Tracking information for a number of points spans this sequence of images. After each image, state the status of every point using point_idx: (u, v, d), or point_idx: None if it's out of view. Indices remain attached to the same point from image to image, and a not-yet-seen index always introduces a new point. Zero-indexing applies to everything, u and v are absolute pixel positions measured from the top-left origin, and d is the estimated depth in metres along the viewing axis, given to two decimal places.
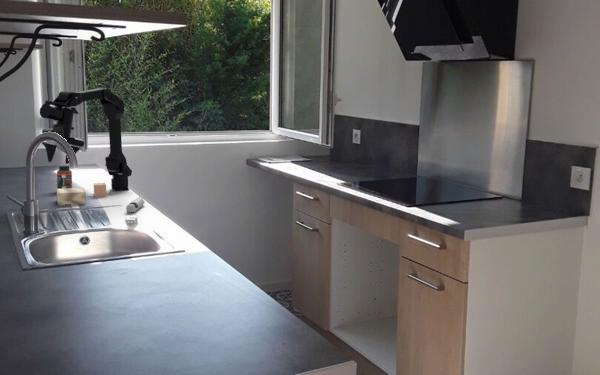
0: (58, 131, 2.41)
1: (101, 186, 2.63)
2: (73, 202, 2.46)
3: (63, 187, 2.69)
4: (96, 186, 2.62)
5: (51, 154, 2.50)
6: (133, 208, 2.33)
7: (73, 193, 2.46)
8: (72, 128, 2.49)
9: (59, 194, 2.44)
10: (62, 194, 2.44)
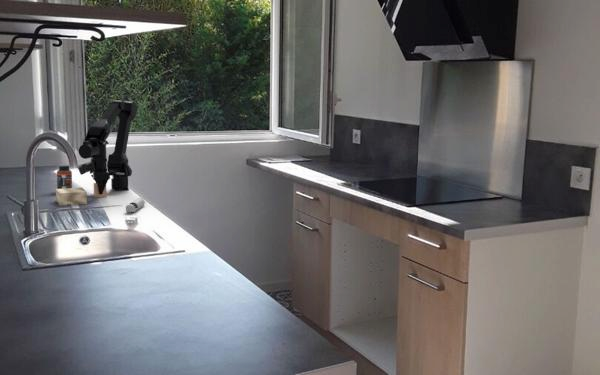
0: (84, 167, 2.57)
1: None
2: (74, 202, 2.46)
3: (63, 187, 2.69)
4: (96, 186, 2.62)
5: None
6: (132, 208, 2.33)
7: (74, 193, 2.46)
8: (105, 160, 2.61)
9: (60, 194, 2.43)
10: (63, 194, 2.44)
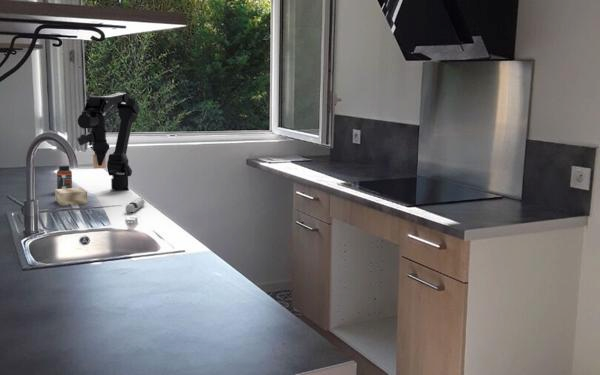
0: (83, 138, 2.55)
1: None
2: (75, 202, 2.46)
3: (63, 187, 2.69)
4: (95, 157, 2.60)
5: None
6: (132, 208, 2.33)
7: (75, 193, 2.46)
8: (104, 131, 2.59)
9: (61, 194, 2.43)
10: (64, 194, 2.44)
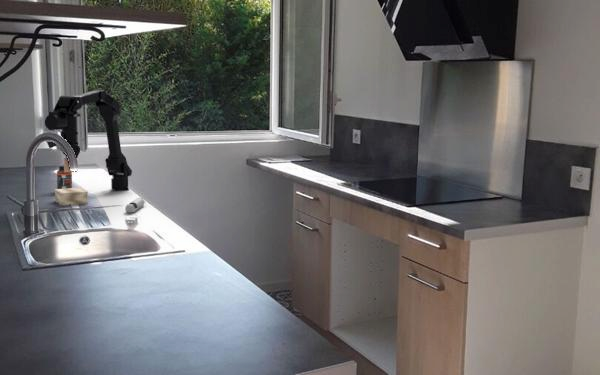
0: None
1: None
2: (75, 202, 2.47)
3: (63, 187, 2.69)
4: (66, 160, 2.45)
5: None
6: (132, 208, 2.33)
7: (75, 193, 2.46)
8: (75, 133, 2.45)
9: (62, 194, 2.43)
10: (65, 194, 2.44)
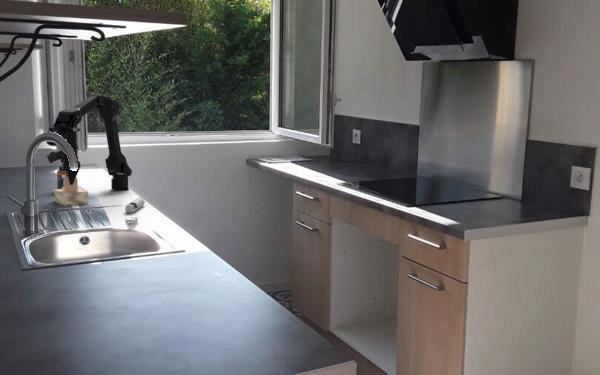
0: (53, 155, 2.41)
1: None
2: (76, 202, 2.47)
3: (63, 187, 2.69)
4: (66, 180, 2.46)
5: None
6: (132, 208, 2.33)
7: (76, 193, 2.46)
8: (75, 147, 2.46)
9: (62, 194, 2.43)
10: (65, 194, 2.44)
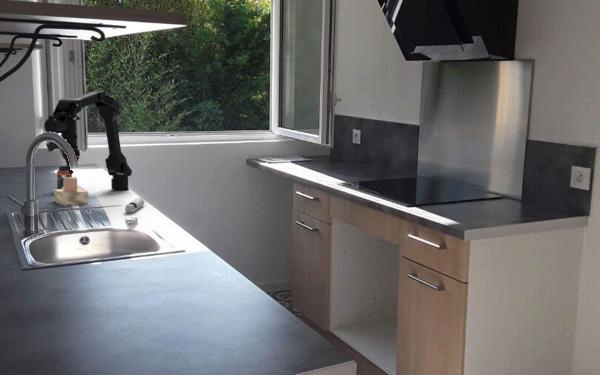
0: (52, 144, 2.40)
1: (71, 180, 2.47)
2: (76, 202, 2.47)
3: (63, 187, 2.69)
4: (66, 180, 2.46)
5: None
6: (132, 208, 2.33)
7: (76, 193, 2.46)
8: (75, 136, 2.45)
9: (62, 194, 2.43)
10: (65, 194, 2.44)
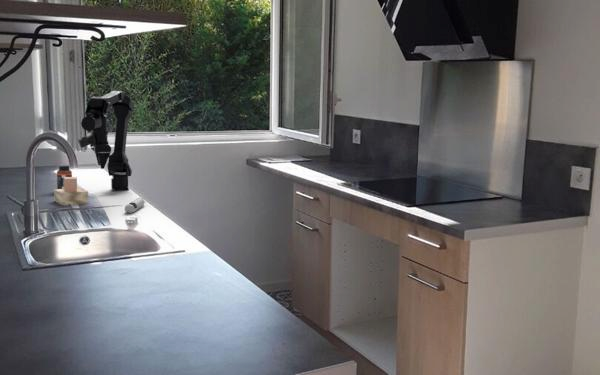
0: (85, 140, 2.51)
1: (71, 180, 2.47)
2: (76, 202, 2.47)
3: (63, 187, 2.69)
4: (66, 180, 2.46)
5: None
6: (131, 208, 2.33)
7: (76, 193, 2.46)
8: (106, 132, 2.56)
9: (62, 194, 2.43)
10: (65, 194, 2.44)
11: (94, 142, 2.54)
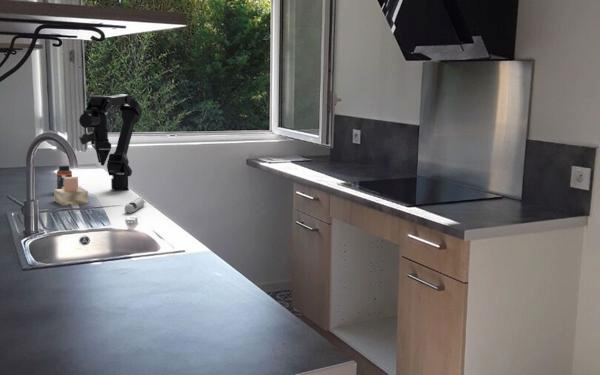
0: (85, 137, 2.57)
1: (71, 180, 2.47)
2: (76, 202, 2.47)
3: (63, 187, 2.69)
4: (66, 180, 2.47)
5: None
6: (131, 208, 2.33)
7: (76, 193, 2.46)
8: (106, 130, 2.61)
9: (62, 194, 2.43)
10: (65, 194, 2.44)
11: (95, 139, 2.60)
